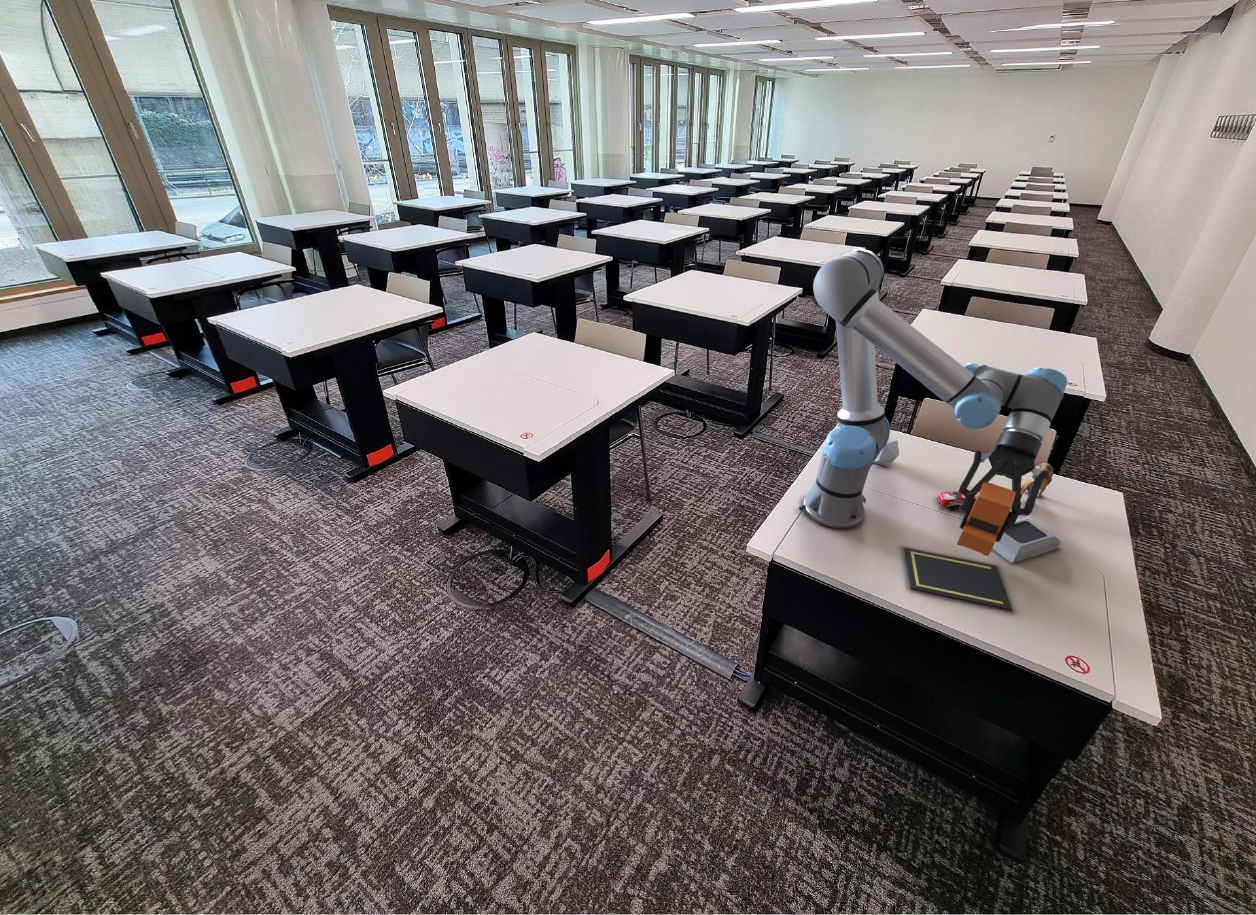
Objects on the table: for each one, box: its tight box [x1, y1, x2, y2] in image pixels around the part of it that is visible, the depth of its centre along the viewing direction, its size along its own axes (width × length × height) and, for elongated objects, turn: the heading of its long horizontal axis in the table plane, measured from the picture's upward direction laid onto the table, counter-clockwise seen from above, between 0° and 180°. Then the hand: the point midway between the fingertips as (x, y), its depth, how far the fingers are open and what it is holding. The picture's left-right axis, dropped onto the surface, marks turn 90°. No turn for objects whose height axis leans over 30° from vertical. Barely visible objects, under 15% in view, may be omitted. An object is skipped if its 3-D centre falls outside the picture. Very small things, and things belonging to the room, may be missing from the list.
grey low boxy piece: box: [992, 517, 1061, 564], centre depth 132 cm, size 10×4×15 cm
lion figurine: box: [1021, 462, 1054, 498], centre depth 146 cm, size 15×5×9 cm, turn 131°
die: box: [873, 437, 900, 468], centre depth 161 cm, size 8×9×10 cm
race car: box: [936, 490, 978, 512], centre depth 144 cm, size 13×5×4 cm, turn 76°
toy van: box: [956, 482, 1016, 557], centre depth 113 cm, size 10×6×12 cm, turn 141°
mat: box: [903, 547, 1013, 612], centre depth 122 cm, size 20×14×1 cm
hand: (979, 533), depth 113 cm, fingers closed on toy van, 6 cm apart
